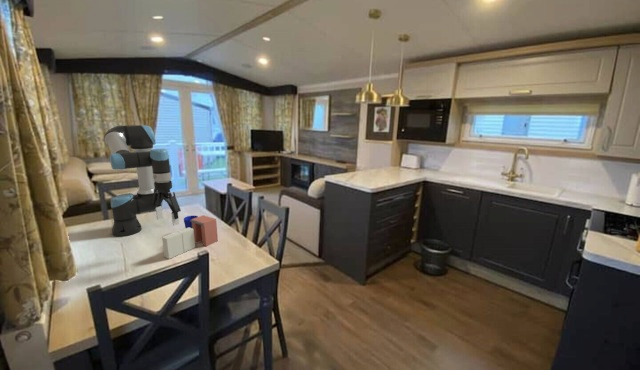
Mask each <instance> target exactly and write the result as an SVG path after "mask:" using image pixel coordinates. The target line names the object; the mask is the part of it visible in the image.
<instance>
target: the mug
mask: <svg viewBox="0 0 640 370" xmlns="http://www.w3.org/2000/svg"><path fill="white" fill-rule="evenodd" d="M197 217H199V216H198V215H188V216H185V217H184V218H183V223H184V229H186V228H188V227H189V228H192V222H190V220H191V219H194V218H197Z"/></svg>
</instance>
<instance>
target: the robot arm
mask: <svg viewBox="0 0 640 370" xmlns="http://www.w3.org/2000/svg"><path fill="white" fill-rule="evenodd" d="M103 140H104V141H103V142H104V144H105V145H106V146H107V147H108V148H109V150H110V152H111V153H110V155H109V163H110V166H111V168H112V170H128V169H136V174H137V180H138V182H137V183H138V190H137V191H136V195H135V194H133V193H131V192H130V193H128V192H127V193H122V194H119V195H115V196H113V197H112V198H111V199H110V207H111V212H112V218H113V225H112V230H111V233H112V236H114V237H128V236H133V235H136V234H138V233H140V232H141V231H142V225H141V223H140V221H139V219H138V218H137V214H139V215H140V214H143V213H148V212H154V211H155V214H156V220H157V221H159V220H162V219H164V215H163V208H162V207H163V202H165V203H166V204H167V205H168V206H169V208H170V211H171V221H172V226H177V225H179V224H180V222H179V212H181V208H180V205H179V203H178V200H177V197H176V193H175V192H174V191H172V192H171V189H172V188H173V182H172V173H171V165H170V155H169V151H168V149H167V148H154V145H156V143H157V141H156V136H155V133H154V130H153V129H152V127H151V126H150V125H147V124H146V125H145V124H143V125H142V124H138V125H135V124H134V125H117V126H113V127H111V128H110V129H108V130H107V131H106V132H105V133H104V135H103ZM131 150H132V152H131Z"/></svg>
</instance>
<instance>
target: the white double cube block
mask: <svg viewBox="0 0 640 370" xmlns="http://www.w3.org/2000/svg"><path fill="white" fill-rule="evenodd" d="M161 240H162V247H163V253H164V255H163V256H164V258H167V259H168V260H170V259H172V258H174V257H176V256H179V255H182V254H184V253H185V252H188V251H191V250H192V249H195V248H196V242H195V239H194V229H192V228H189V227H188V228H184V229H180V230H178V231H175V232H171V233H170V234H166V235H164V236H162V237H161Z"/></svg>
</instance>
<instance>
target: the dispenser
mask: <svg viewBox="0 0 640 370" xmlns="http://www.w3.org/2000/svg"><path fill="white" fill-rule="evenodd" d="M190 222H192V229H194V239H195V244H198V243H200V242H202V246H205V247H208V246H210V245H212V244H215V243H217V242H219V238H218V226H217V225H218V224H217V223H218V222H217V218H214V217H211V216H208V215H204V214H203V215H200V216H198V217H197V218H194V219H191V220H190Z"/></svg>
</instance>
